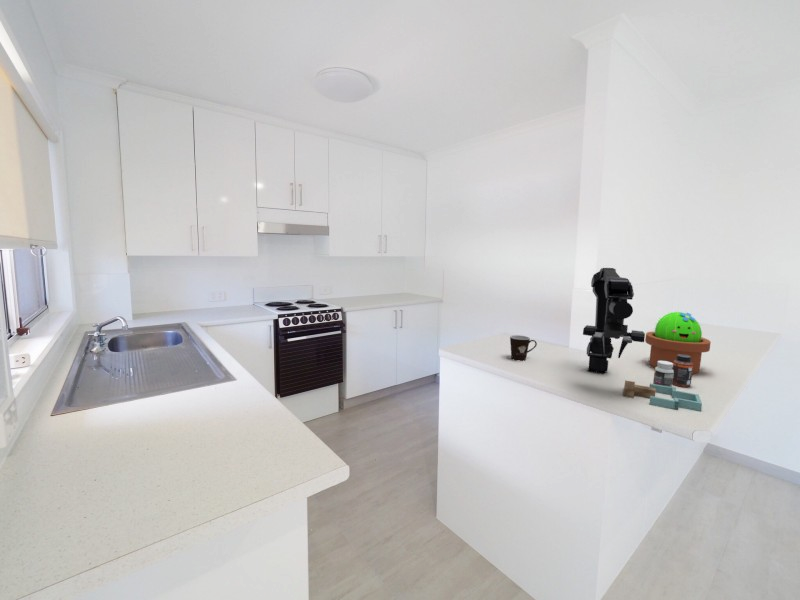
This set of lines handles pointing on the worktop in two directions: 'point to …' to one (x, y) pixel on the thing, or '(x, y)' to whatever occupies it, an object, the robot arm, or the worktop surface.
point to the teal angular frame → (675, 398)
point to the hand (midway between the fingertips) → (610, 356)
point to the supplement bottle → (682, 371)
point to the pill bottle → (663, 374)
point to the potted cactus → (677, 340)
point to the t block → (637, 390)
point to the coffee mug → (520, 347)
